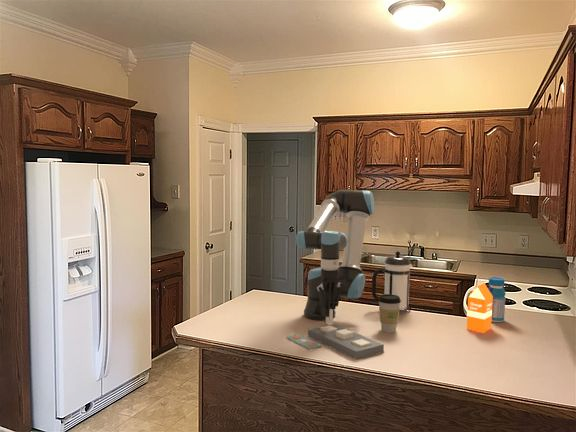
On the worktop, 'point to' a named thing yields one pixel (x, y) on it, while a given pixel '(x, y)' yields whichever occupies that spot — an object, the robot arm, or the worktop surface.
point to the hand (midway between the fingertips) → (329, 323)
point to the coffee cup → (389, 311)
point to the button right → (361, 343)
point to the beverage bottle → (497, 298)
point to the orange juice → (479, 309)
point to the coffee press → (395, 279)
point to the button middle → (344, 334)
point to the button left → (328, 329)
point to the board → (346, 342)
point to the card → (303, 342)
